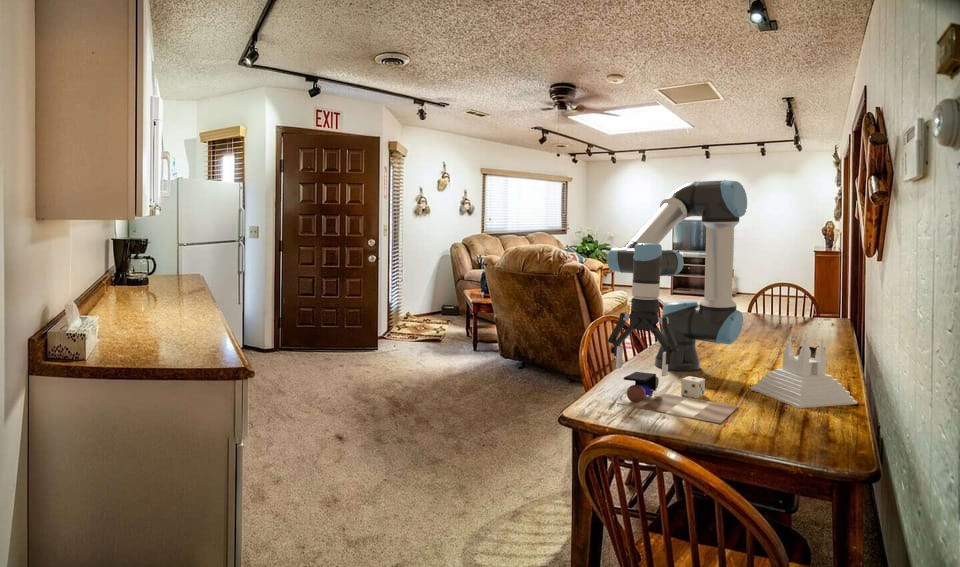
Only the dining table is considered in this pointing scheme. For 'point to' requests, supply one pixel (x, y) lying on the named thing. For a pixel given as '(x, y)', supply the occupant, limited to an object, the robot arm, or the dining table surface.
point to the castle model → (804, 380)
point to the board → (683, 407)
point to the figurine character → (641, 385)
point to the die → (693, 387)
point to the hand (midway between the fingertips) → (641, 371)
